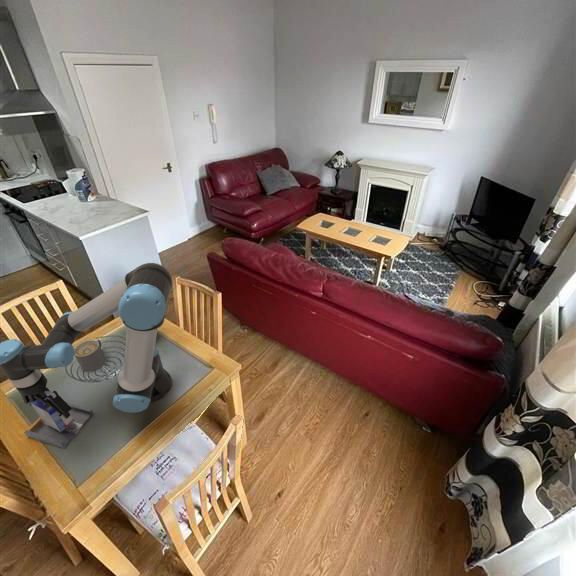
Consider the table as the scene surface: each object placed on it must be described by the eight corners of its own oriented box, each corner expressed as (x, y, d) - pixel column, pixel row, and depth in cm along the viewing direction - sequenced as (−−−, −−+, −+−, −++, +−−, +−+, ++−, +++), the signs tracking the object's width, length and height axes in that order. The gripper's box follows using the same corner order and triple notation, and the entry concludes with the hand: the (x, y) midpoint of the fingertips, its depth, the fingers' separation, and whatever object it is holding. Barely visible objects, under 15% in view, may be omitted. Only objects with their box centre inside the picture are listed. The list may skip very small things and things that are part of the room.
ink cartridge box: (75, 420, 114) (60, 396, 106) (61, 433, 110) (44, 409, 101) (58, 410, 117) (41, 386, 109) (43, 422, 113) (25, 399, 104)
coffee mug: (96, 373, 135) (88, 358, 129) (76, 369, 136) (67, 354, 130) (115, 351, 145) (108, 336, 140) (96, 348, 147) (89, 333, 141)
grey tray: (94, 413, 119) (91, 409, 117) (64, 448, 108) (60, 444, 106) (60, 404, 122) (57, 399, 120) (27, 437, 111) (24, 432, 109)
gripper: (67, 377, 100) (90, 416, 113) (12, 363, 104) (40, 402, 117) (47, 396, 94) (74, 435, 107) (-11, 380, 98) (22, 419, 111)
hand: (57, 417), depth 112 cm, fingers closed on ink cartridge box, 10 cm apart
